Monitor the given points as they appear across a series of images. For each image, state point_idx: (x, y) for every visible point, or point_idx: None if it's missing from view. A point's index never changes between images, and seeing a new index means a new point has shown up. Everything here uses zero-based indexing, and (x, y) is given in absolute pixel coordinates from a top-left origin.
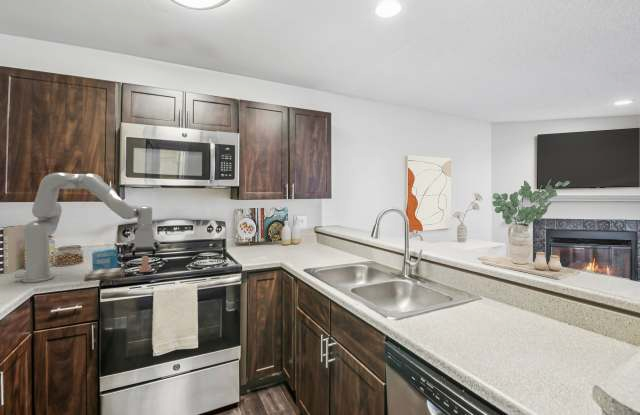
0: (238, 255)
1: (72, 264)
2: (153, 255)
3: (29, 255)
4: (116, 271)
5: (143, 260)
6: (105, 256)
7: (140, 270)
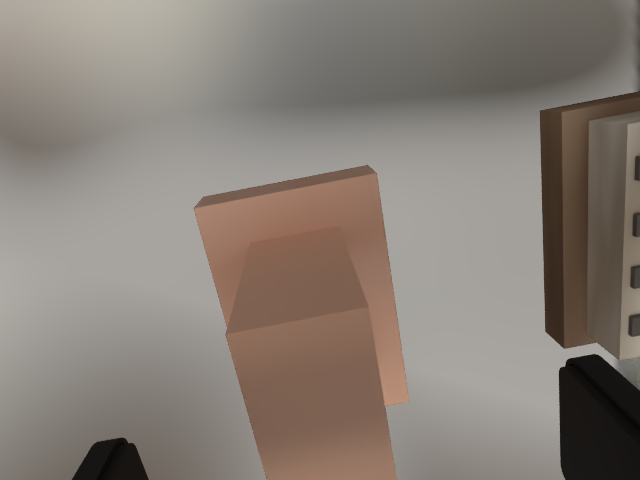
0: None
1: None
2: (98, 448)
3: None
4: None
5: (334, 286)
6: None
7: (357, 172)
